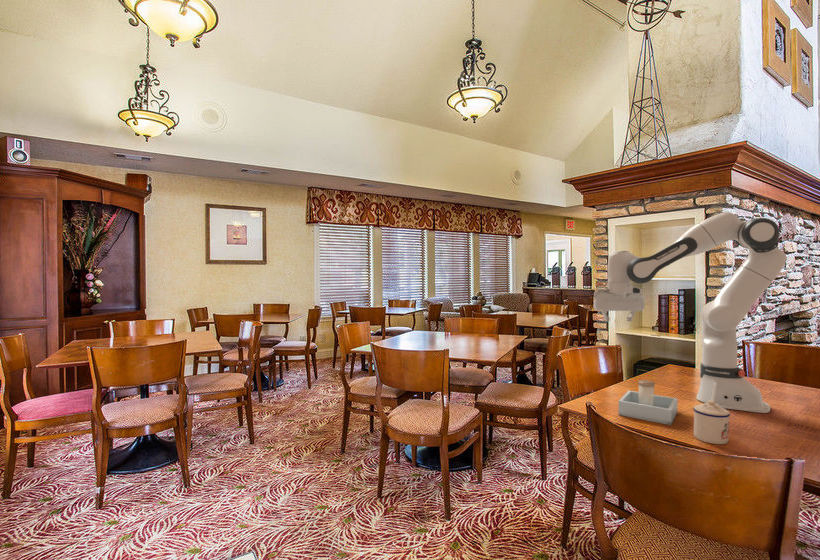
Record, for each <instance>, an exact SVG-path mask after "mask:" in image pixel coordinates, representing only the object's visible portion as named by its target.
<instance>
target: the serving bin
mask: <svg viewBox="0 0 820 560" xmlns="http://www.w3.org/2000/svg"><path fill="white" fill-rule="evenodd" d="M617 412H618V416H623V417H626V418H633V419H638V420H643V421H648V422H651V423H657V424H658V423H659V424H662V425H668V426H672V425H673V422H674V419H675V418H676V416H677V413H678V398H677V397H671V396H670V397H669V396H664V395H657V394H654V406H649V405H644V404H639V391H635V390H634V391H633V390H627V391H626V392H625V393H624V394H623V395H622V397H621V398H620V399H619V400H618V410H617Z"/></svg>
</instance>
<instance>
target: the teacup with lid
mask: <svg viewBox="0 0 820 560" xmlns="http://www.w3.org/2000/svg"><path fill="white" fill-rule="evenodd" d="M730 416H731V414H730V411H729V409H728V410H727V409H726V408H721V407H720V406H718V405H716V404H715V401H711V400H708V401H707V403H704V402H703V403H702V404H696V405H694V406H693V437H695V438H696V439H698V440H699V441H702V442H704V443H709V444H712V445H713V444H714V445H725V444H726V445H727V444H728V442H729V436H730V435H729V427H730V426H729V425H730V424H729V423H730V421H729V420H730Z"/></svg>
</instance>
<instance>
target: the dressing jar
mask: <svg viewBox="0 0 820 560" xmlns="http://www.w3.org/2000/svg"><path fill="white" fill-rule="evenodd" d="M637 382H638V383H637V384H638V392H639V404H644V405H649V406H654V395H655V386H656V385H655V384H656V383H655V382H654V381H653V380H648V379H639V380H638V381H637Z"/></svg>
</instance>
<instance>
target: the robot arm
mask: <svg viewBox="0 0 820 560" xmlns="http://www.w3.org/2000/svg"><path fill="white" fill-rule="evenodd" d="M779 240H780V228H779V226H778V224H777V223H776V222H775V221H774V220H772V219H769V218H766V217H758V218H757V217H756V218H753V219H749V220H746V221H743V220H741V219H740V218H739V217H738V216H737V215H736V214H734V213H732V212H729V211H724V212H720V213H717V214H715V215H712V216H710V217H708V218H706V219H704V220H702V221H700V222H698V223H696V224H695V225H693V226H692V227H690V228H688V229H687V230H686V231H684V232H683V234H681V235H680V236H679V238H677V239H676V240H675V241H674V242H673V243H671V244H670V245H669V246H666V247H665V248H663V249H661V250H659V251H657V252H656V253H654V254H652V255H649V256H645V257H644V256H643V257H640V256H638V255H635V254H633V253H632V252H630V251H628V250H622V251H621V250H620V251H616V252H613V253H611V254H609V257H608V260H607V274H608V279H607V283H606V284H607V288H603V289H602V288H598V289H596V290H595V291H594V292H593V307H592V308H593V309H594V310H595V311H598V312H599V311H600V312H601V314H602V316H603V317H604V321H605V322H610V321H611V319H610V316H608V315H607V314H608V312H613V311H614V312H625V311H626V312H629V313H630V314H629V316H627V317H626V321H627V322H633V318H634V316H635V315H636V312H642V311H644V310H645V298H644V295H643V291H644V290H643V289H642V287H641V288H640V287H637V286H634V285H631V282H633V283H636V284H646V283H649V282H651V281H652V280H653V278H654V277H655V276H656V274H658V272H659V271H660V270H662V269H664V268H666V267H668V266H670V265H671V264H673V263H675V262H677V261H679V260H681V259H684V258H687V257H691V256H697V255H700V254H703V253H705V252H708V251H710V250H712V249H715V248H716V247H718V246H720V245H722V244H724V243H726V242H729V241H733V242H735V243H736V244H738V246H740V247H742V248H745V249H747V250H748V256H747V257H746V258H745V260H744V261H743V262H742V264H740V266H739V267H738V268H737V270H736V271H735V272H734V273H733V274H732V275H731V276H730V278H729V279H728V280H727V281H726V282H725V283H724V286H723V287H722V289H721V290H720V292H719V293H718V294H717V296H716V297H715V298H714V299H713V300H712V301H709V302H707V303H706V304H705V305H704V306H703V308H702V309H701V341H702V344H701V346H702V347H701V363H700V367H699V377H700V382H699V387H698V391H697V395H696V397H695V398H696V399H697V400H698V401H700V402H702V403H703V404H704V403H707V401H708V400H711V401H715V404H716V405H718V406H720V407H721V408H724V409H726V410H727V409H728V410H736V411H737V410H738V411H744V412H752V413H761V414H766V413H770V411H771V406H770V404H769V403H767V402H766V401H764V399H763V395H762V393H761V392H762V391H760V389H759V388H758V387H756V386H755V385H754V384H752V383H751V382H749V381H748V379H746V378H744V377H745V376H746V372H745V370H744V369H743V368H741V367H739V366H738V342H737V338H738V337H737V327H738V326H739V325H740V323H741V322H742V321H743V319H744V318H745V317H746V316H747V315H748V313H749V312H750V310H751V309H752V307H753V306H754V305H755V303H756V302H757V300H758V299H759V298H760V297H761V295H762V294H763V293H764V292H765V291H766V290H767V288H768V287H770V285H771V284H772V283H773V282H774V280H775V279H776V278H777V277H778V275H779V274H780V273H781V271H782V269H783V268H784V266H785V264H786V263H787V260H788V258H787V255H786V253H785V252H784V251H783V250H782V249H780V248H778V247H779Z"/></svg>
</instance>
